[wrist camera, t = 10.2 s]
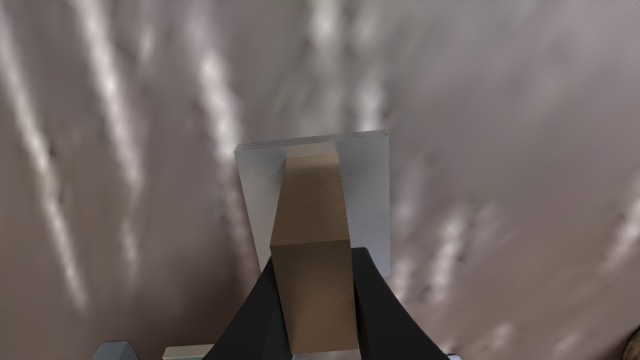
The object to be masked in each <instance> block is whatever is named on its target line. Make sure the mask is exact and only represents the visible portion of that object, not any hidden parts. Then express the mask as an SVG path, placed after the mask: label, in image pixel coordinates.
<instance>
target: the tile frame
mask: <svg viewBox="0 0 640 360" xmlns="http://www.w3.org/2000/svg"><path fill="white" fill-rule="evenodd" d="M91 360H139V359H138V357H137V356H136V354H135V352H134V350H133V348H132V347H131V345H130V343H129V341H119V342H106V343H101V344H100V346H99V347H98V349H97V351H96V352H95V354H94V356H93V357H92V359H91ZM292 360H300V357H299V354H293V359H292Z"/></svg>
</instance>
